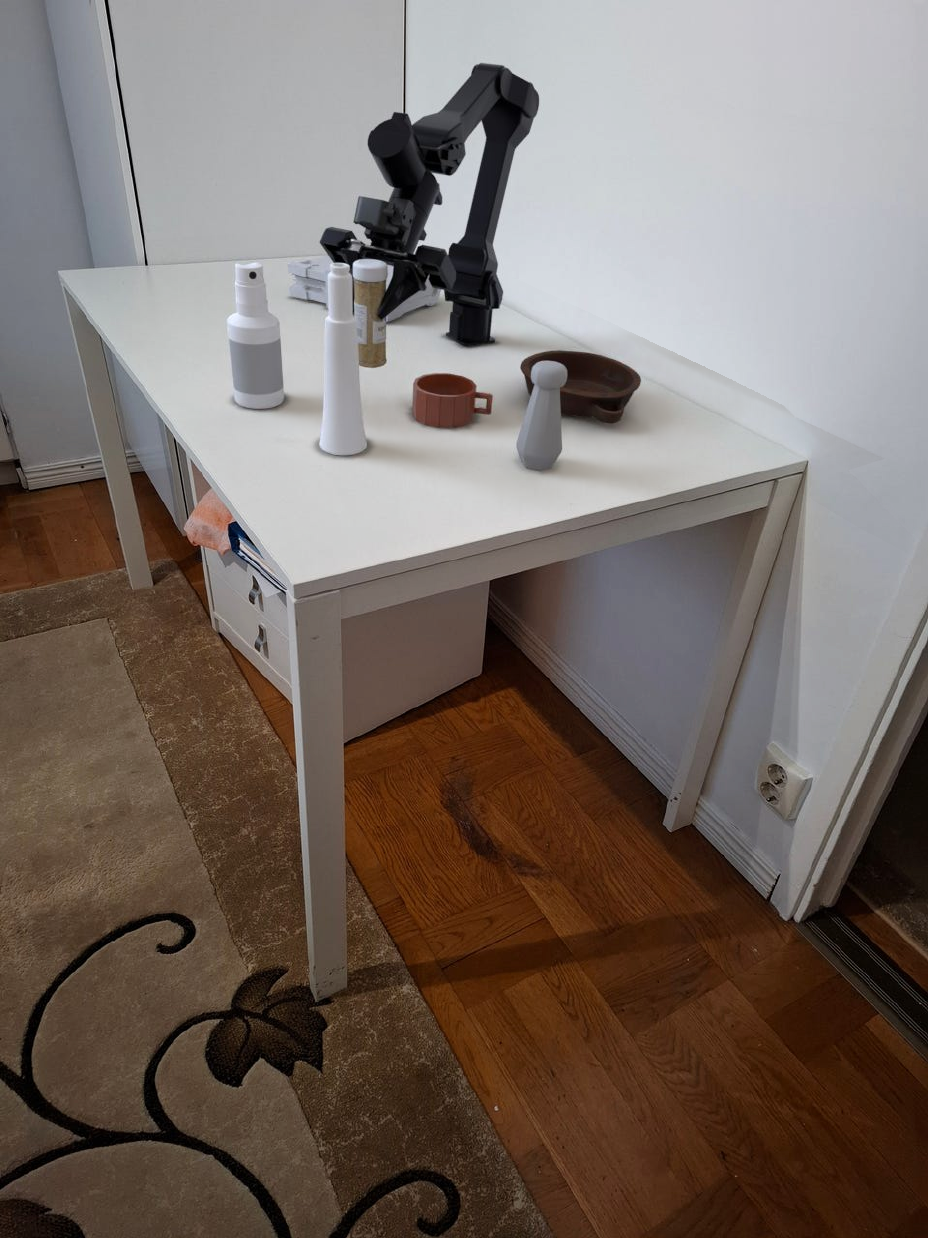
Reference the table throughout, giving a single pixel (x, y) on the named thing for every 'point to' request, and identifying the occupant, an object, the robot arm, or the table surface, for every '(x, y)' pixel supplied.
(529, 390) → the dish
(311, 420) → the table surface
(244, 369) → the spray bottle
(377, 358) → the sprinkles bottle
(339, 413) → the cosmetic bottle
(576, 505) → the table surface
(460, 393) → the cup
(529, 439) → the salt shaker
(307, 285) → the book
